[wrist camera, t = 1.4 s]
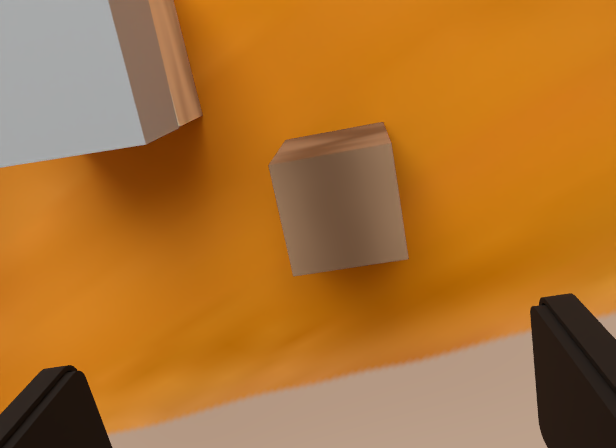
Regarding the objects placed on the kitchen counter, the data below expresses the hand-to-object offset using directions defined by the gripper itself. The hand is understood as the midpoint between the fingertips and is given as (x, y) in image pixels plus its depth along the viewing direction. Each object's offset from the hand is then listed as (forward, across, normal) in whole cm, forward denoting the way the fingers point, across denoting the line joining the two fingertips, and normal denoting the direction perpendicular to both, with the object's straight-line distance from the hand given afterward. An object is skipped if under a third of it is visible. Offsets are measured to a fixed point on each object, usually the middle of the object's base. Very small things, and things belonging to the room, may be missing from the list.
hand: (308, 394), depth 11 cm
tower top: (+14, +9, -8) cm, 19 cm away
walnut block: (+18, -1, 0) cm, 18 cm away
